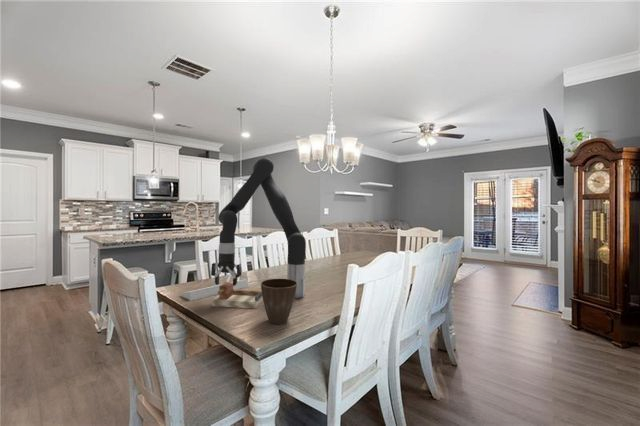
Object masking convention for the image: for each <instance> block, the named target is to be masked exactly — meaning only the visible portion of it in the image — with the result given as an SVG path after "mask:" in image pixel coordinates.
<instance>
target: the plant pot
mask: <svg viewBox="0 0 640 426" xmlns="http://www.w3.org/2000/svg"><path fill="white" fill-rule="evenodd" d="M296 287H297V282H296V281H294V280H290V279H287V278H269V279H265V280H263V281H261V282H260V289H261V290H260V291H262V297H263V301H262V302H263V307H264V310H265V314H266V317H267V319H268V322H269V323H270V324H273V325H283V324H286V323H287V322H288V319H289V317H290V314H291V311H292V307H293V305H294V301H295V299H296V298H295V293H296Z"/></svg>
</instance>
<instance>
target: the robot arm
mask: <svg viewBox="0 0 640 426" xmlns="http://www.w3.org/2000/svg"><path fill="white" fill-rule="evenodd" d="M274 167H275V166H274V163H273V161H272V160H271V159H270V158H267V157H262V158H260V159H258V160H257V161H256V162H255V163H254V164H253V166H252V173H251V174H250V176H249V178H248V179H247V180H246V181H245V182H244V183H243V185H242V186H240V188H239V190H238V191H237V192H236V193H235V194H234V196H233V197H232V199H231V200H230V201H229V203H227V204H226V205H225V206H224V207H223V208H222V209H221V211H220V213H219V214H218V222H219V223H220V224H222V230H221V231H220V232H219V244H218V260H217V261H218V262H213V263H211V269H210V272H211V273H210V276H213V277H214V283H215V286H216V285H220V274H222V273H223V274H224V273H225V274H230V275H231V276H232V282H233V286H235V285H236V284H237V281H238V278H239V277H241V276H242V265H241V263H239V264H236V263H235V260H236V259H235V257H236V243H235V242H236V241H235V238H236V237H235V236H236V231H237V225H238V216H237V215H238V213H239V212H240V211H242V210H243V209H245V207H246V205H247V204H248V203H249V201H250V200H251V198H252V197H253V195H254V193H255V192H256V191H257V189H258V188H259V187H260V186H261V188H262V189H263V192H264V195H265V196H266V200H267V201H268V203H269V206H270V208H271V210H272V212H273V214H274V216H275V218H276V220H277V221H278V223H279V224H280V226H281V228H282V229H283V232H284V235H285V237H286V240H287V261H286V262H287V267H286V268H287V270H286V271H287V272H286V273H287V274H286V275H287V276H286V279H290V280H294V281H296V282H297V287H296V293H295V298H294V299H298V298H304V297H305V294H306V275H305V271H306V269H305V268H306V267H305V266H306V256H307V255H306V252H307V245H306V244H307V242H306V238H305V237H304V234H302V233H301V231H300V230H299V229H300V228H298V226H297V223H296V221H295V218H294V215H293V212H292V211H293V210H292V209H291V206H290V203H289V201H288V199H287V197H286V195H285V194H284V193H283V191H281V189H280V188H279V187H278V186H277V183H276V182H275V180H274V178H273V175H272V173H273V172H274ZM217 268H218V270H217Z"/></svg>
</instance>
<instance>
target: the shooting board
mask: <svg viewBox="0 0 640 426" xmlns="http://www.w3.org/2000/svg"><path fill="white" fill-rule="evenodd" d="M211 300H212V302H211V305H212V307H222V308H240V309H241V308H242V309H257V308H258V307H259V306H260V305H261V304H262V302H263V297H262V290H252V289H239V290H233V295H232V296H231V297H230V298H228V299H219V294H218V295H216V296H215V297H214V298H213V299H211Z"/></svg>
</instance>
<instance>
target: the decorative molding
mask: <svg viewBox="0 0 640 426" xmlns="http://www.w3.org/2000/svg"><path fill="white" fill-rule="evenodd" d="M229 283H233V281H230V282H229ZM222 284H223V283H222ZM222 284H218V285H216V284H215V285H212V286H208V287H203V288H199V289H194V290H188V291H184V292H181V293H180V296H181V297H182V298H184V299H187V301H190V302H193V301H195V300H201V299H204V298H208V297H213V296H218V295H219V294H218V293H217V292H218V291H219V286H221V285H222ZM249 286H250V285H249V280H248V279H241V280H237V284H236V285H235V286H233V290H244V289H246V288H249Z"/></svg>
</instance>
